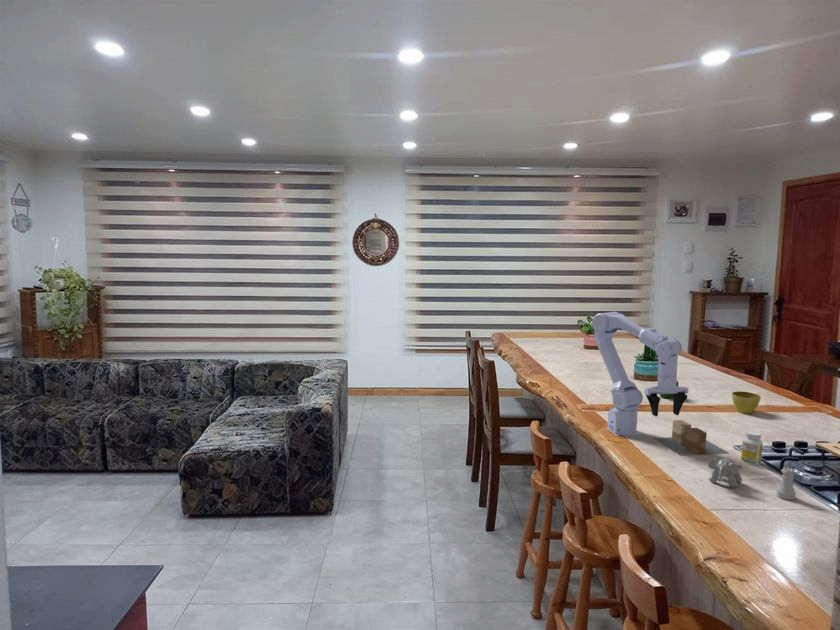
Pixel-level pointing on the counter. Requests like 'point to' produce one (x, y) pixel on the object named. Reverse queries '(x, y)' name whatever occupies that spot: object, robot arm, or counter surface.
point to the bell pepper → (668, 394)
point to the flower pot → (745, 401)
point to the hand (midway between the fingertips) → (665, 414)
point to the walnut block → (696, 440)
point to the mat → (684, 452)
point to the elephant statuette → (725, 471)
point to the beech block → (680, 431)
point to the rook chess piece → (787, 485)
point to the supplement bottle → (752, 448)
